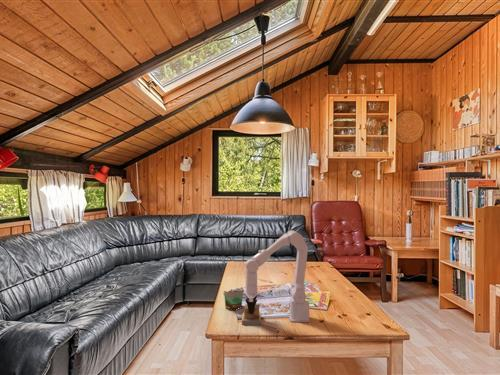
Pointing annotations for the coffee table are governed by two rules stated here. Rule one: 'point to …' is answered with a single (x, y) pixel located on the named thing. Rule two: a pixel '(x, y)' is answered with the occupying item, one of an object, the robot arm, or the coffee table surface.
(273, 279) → the coffee table surface
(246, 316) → the brown block
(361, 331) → the coffee table surface
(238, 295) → the food container
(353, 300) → the coffee table surface
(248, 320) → the dock
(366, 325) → the coffee table surface
